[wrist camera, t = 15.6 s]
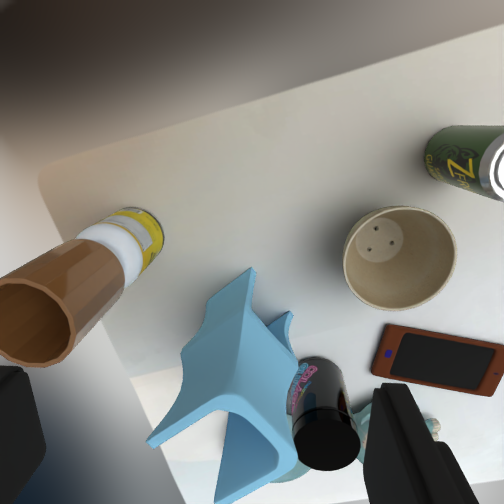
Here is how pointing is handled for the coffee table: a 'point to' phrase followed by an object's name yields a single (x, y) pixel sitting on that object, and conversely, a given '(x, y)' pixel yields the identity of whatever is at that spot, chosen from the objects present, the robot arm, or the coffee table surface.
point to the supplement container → (322, 417)
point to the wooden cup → (57, 301)
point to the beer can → (469, 159)
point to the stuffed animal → (363, 424)
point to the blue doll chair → (238, 390)
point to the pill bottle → (129, 239)
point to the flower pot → (398, 257)
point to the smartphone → (439, 360)
